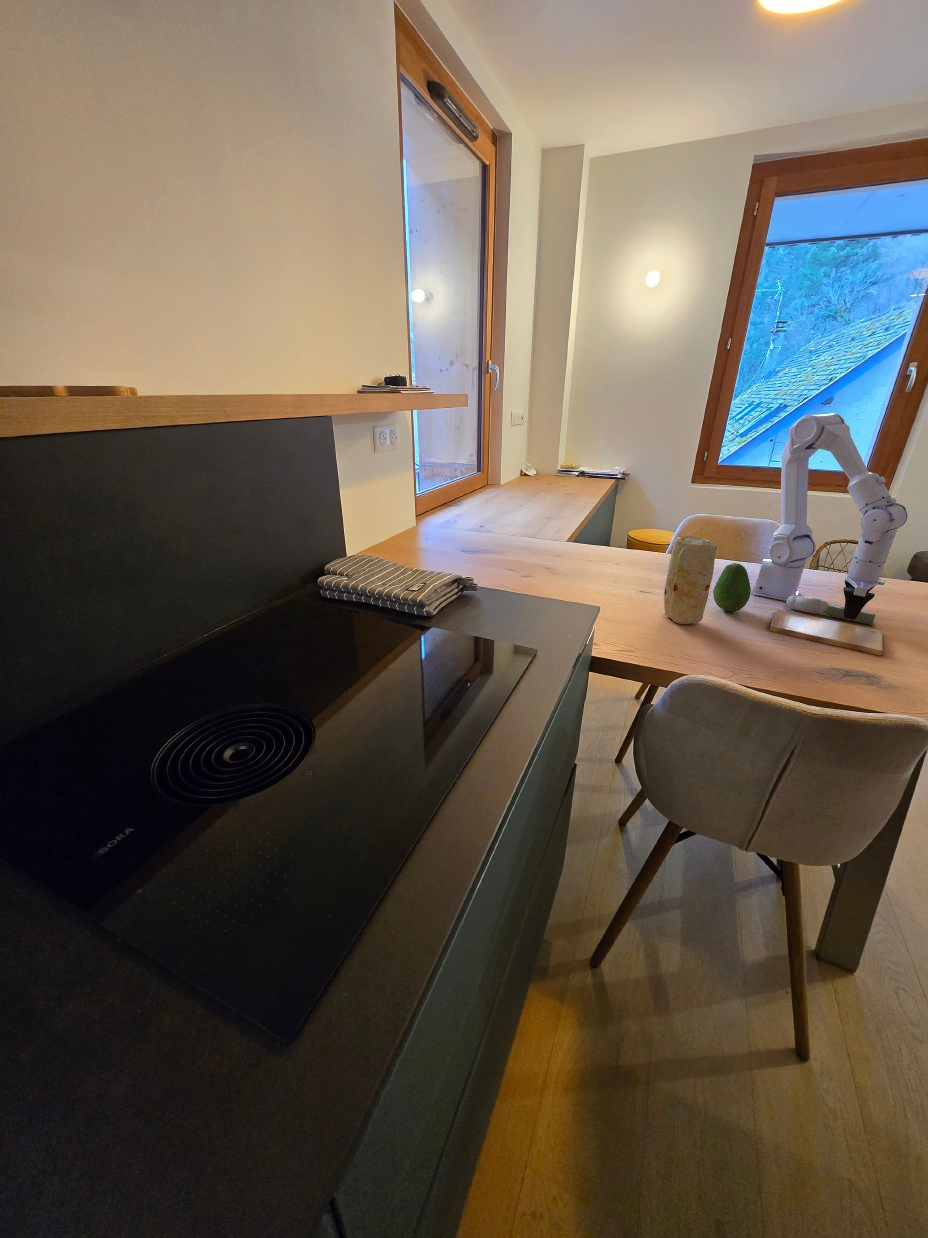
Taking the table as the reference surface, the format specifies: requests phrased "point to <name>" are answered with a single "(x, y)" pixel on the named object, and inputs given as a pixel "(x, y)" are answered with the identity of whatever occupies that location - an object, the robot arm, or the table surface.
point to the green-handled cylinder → (825, 609)
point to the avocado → (732, 588)
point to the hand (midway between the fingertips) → (849, 614)
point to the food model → (689, 579)
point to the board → (828, 631)
